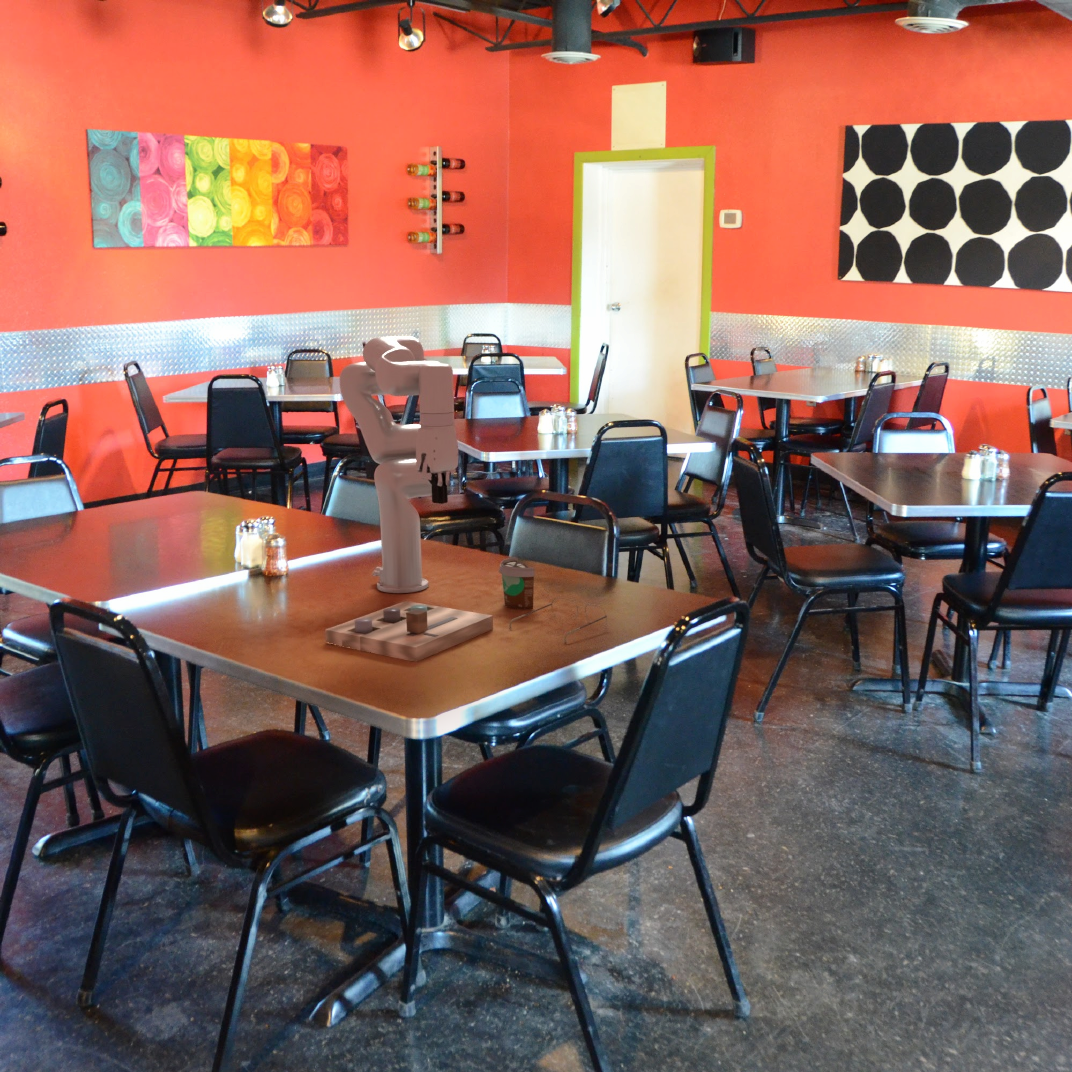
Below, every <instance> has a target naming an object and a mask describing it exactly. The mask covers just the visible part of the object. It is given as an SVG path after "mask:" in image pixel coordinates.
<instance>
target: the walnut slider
mask: <svg viewBox="0 0 1072 1072" xmlns="http://www.w3.org/2000/svg"><path fill="white" fill-rule="evenodd" d="M406 621H407V632H412V633H417V634H419V633H421V632H424V631H426V630H428V625H427V611H423V610H418V609H415V610H412V611H409V612H406Z"/></svg>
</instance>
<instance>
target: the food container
mask: <svg viewBox="0 0 1072 1072" xmlns="http://www.w3.org/2000/svg"><path fill="white" fill-rule="evenodd" d="M498 572H499V574H501V580H502V591H503V599H504V601H503V602H504V607H506V608H508V609H512V610H525V611H526V610H534V593H535V592H534V588H535V586H534V585H535V584H534V583H535V582H534V581H535V577H536V574H535V573H536V571H535V567H534V566H533V567H532V566H531V567H528V566H527V565H526V564H525V563H522V562H519V561H518V556H516V557H515V556H513V557H509V558H505V559H503V560H502V561H501V562H500V564H499V569H498Z"/></svg>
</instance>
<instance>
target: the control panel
mask: <svg viewBox="0 0 1072 1072" xmlns="http://www.w3.org/2000/svg"><path fill="white" fill-rule="evenodd" d="M414 605H426V606H427V625H428V630H426V631H424V632H421V633H419V634H417V633H412V632H407V621H406V612H409V611H411V606H414ZM387 608H399V609H400V616H401V621H399V622H397V623H394V624H392V623H387V622H384V617H383V610H384V609H387ZM493 617H494V615H492V614H491V615H490V614H485V613H480V612H475V611H473V612H472V611H467V610H462V609H455V608H450V607H444V606H438V605H432V604H427V603H426V604H425V603H422V602H421V603H420V602H414V601H409V600H405V601H402V602H399V603H395V604H393V605H391V606H388V607H385V608H381V609H380V610H377V611H374V612H370V613H368V614H365V615H362V616H360V617H357V618H354V619H350V620H348V621H345V622H343V623H340V624H337V625H335V626H332V627H328V628H325V643H326V642H329V643H333V644H336V645H340V646H339V647H341V646H344V647H343V648H346V647H350V648H349V649H351V648H353V649H352V650H355V649H357V650H356V651H360V650H362V651H361V652H365V651H366V652H367V653H370V652H371V653H370V654H377V655H381V656H386V657H391V658H395V659H400V660H406V661H411V662H415V663H417V662H419V661H422V660H423V659H426V658H429V657H431V656H433V655H435V654H438V653H440V652H443V651H445V650H447V649H450V648H452V647H456V645H460V644H461V643H464V642H466V641H468V640H471V639H474V638H475V637H477V636H480V635H483V634H485V633H487V632H489V631H492V630H493V629H494V618H493ZM359 618H370V619H372V628H373V632H370V633H367V634H360V633H355V620H356V619H359ZM336 645H335V646H336ZM366 652H365V653H366Z"/></svg>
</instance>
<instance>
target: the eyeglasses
mask: <svg viewBox="0 0 1072 1072" xmlns="http://www.w3.org/2000/svg"><path fill="white" fill-rule="evenodd" d="M557 599H564V600H568V601H571V602H573V603H574V604H575V605H576V607H577V608H576V616H575V617H573V618H572V619H573V620H575V619H577V617H578V614H579V608H582V609H583V608H584V613H585V617H586V619H587V621H588V622H589V623H587V624H585V625H583V626H580V627H578V628H575V629H573V630H571V631H568V632H567V633H566V634H565V636H564V640H563V641H564V644H567V636H568V635H570V634H572V633H574V632H577V631H579V630H582V629H583V628H586V627H588V626H590V625H593V624H595V623H596V622H599V621H601V620H603V619H605V626H604V628H606V627H607V625H608V618H607V617H608V615H607V612H606V611H605V609H604V608H603V607H602V606H601V605H598V604H593V603H589V602H585V601H581V600H578V603H585V604H586V605H585V606H580V605H578V604H577V600H576V599H571V598H566V597H563V596H561V597H560V596H559V597H555V598H554V599H552V601H551V603H549V604H547V605H544V606H542V607H539V608H537V609H533V610H532V611H530V612H528V613H525V614H522V615H520V616H518V617H517V616H516V617H515V618H512V619H511V620H510V622H509V625H508V627H509V630H511V629H513V628H512V623H513V622H514V621H517V620H519V619H521V618H524V617H525V616H528V615H531V614H533V613H535V612H537V611H540V610H542V609H545V608H548V607H550V606H551V613H552V614H553V615H554V616H555V617H557V615H556V614H555V612H554V608H553V604H554V602H555V600H557ZM588 606H596V607H599V608H600V609H602V610H603V612H604V614H605V616H603V617H600V618H598V619H596V620H593V621H590V620H589V617H588V614H587V607H588Z"/></svg>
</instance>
